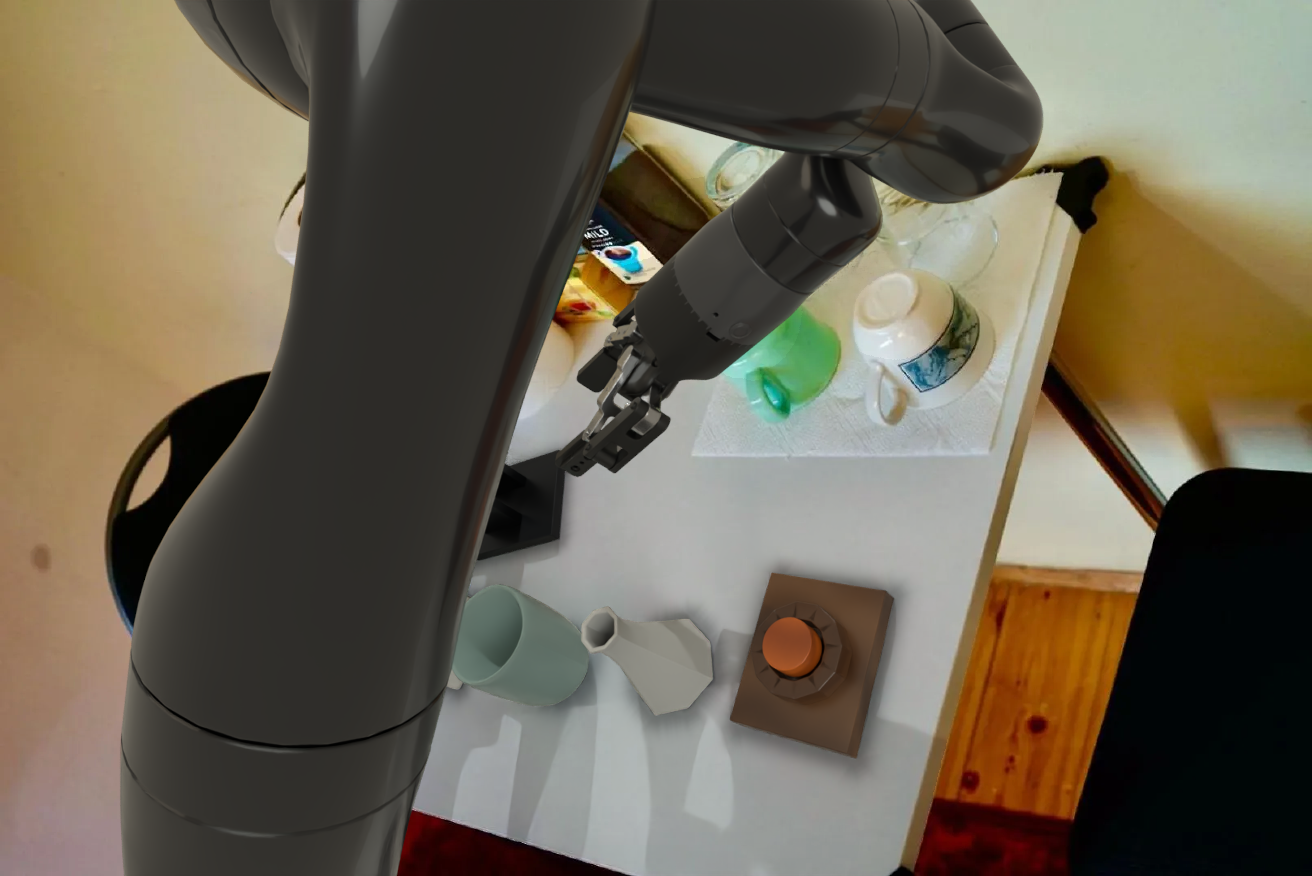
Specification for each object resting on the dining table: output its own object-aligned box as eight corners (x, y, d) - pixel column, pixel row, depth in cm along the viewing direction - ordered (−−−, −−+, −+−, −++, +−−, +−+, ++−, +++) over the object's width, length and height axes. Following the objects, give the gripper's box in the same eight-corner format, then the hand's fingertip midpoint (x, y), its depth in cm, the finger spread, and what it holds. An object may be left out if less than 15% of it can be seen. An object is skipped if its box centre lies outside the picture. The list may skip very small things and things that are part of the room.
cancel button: (814, 682, 59) (803, 675, 58) (767, 671, 61) (755, 664, 60) (828, 629, 60) (817, 621, 59) (781, 620, 62) (770, 612, 61)
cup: (617, 674, 71) (538, 638, 64) (547, 735, 72) (462, 706, 65) (581, 604, 77) (505, 563, 70) (517, 662, 78) (435, 628, 71)
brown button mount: (857, 759, 58) (835, 748, 56) (740, 725, 64) (716, 714, 61) (894, 598, 62) (876, 581, 59) (781, 579, 67) (759, 563, 65)
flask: (696, 604, 70) (624, 559, 63) (729, 684, 66) (656, 645, 58) (624, 651, 72) (547, 613, 65) (651, 733, 67) (571, 701, 60)
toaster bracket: (566, 454, 86) (461, 378, 76) (559, 539, 82) (445, 471, 71) (474, 484, 92) (363, 417, 81) (462, 565, 87) (343, 505, 77)
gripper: (687, 193, 58) (552, 334, 68) (665, 332, 49) (511, 472, 59) (771, 259, 61) (630, 384, 71) (766, 402, 52) (603, 524, 61)
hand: (576, 424), depth 65 cm, fingers open, 8 cm apart
